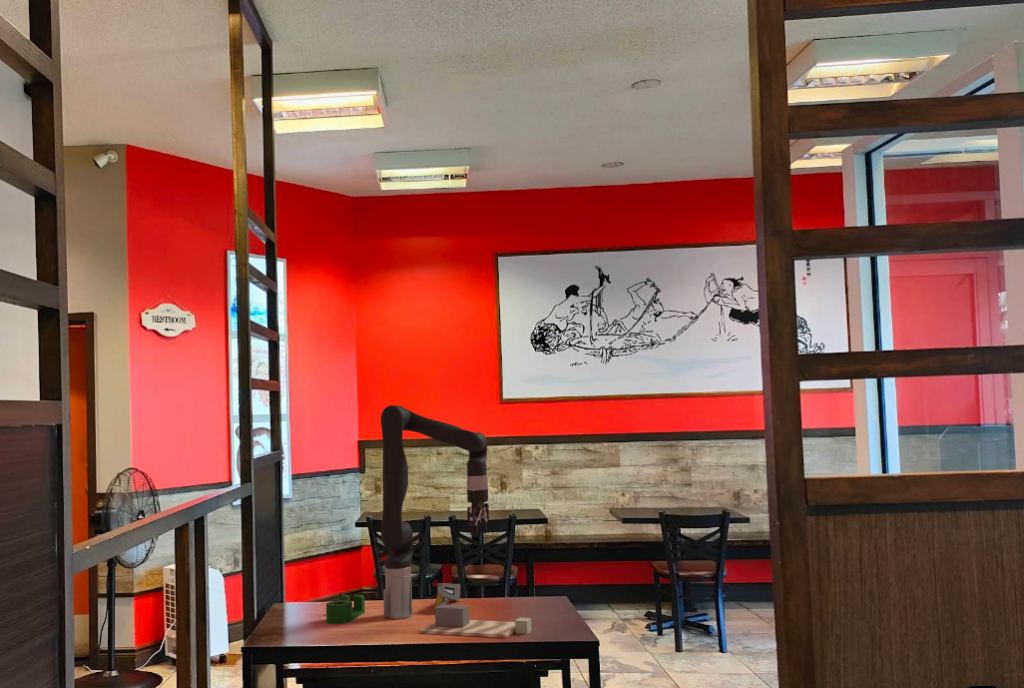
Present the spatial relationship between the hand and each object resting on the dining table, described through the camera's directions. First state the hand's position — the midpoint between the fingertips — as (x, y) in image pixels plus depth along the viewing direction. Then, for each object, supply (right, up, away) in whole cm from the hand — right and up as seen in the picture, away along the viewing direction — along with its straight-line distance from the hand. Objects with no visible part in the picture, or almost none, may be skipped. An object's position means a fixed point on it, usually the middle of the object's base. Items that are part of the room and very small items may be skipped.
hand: (479, 534), depth 280 cm
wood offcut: (+15, -25, -27) cm, 40 cm away
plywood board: (-1, -26, -21) cm, 34 cm away
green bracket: (-49, -31, +3) cm, 58 cm away
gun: (-13, -31, +16) cm, 37 cm away
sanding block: (-8, -26, -19) cm, 33 cm away
